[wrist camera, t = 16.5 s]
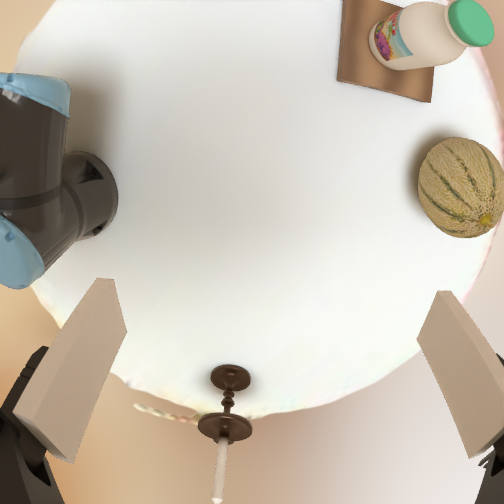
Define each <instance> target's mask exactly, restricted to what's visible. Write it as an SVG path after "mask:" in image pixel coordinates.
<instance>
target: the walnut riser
mask: <svg viewBox="0 0 504 504" xmlns="http://www.w3.org/2000/svg"><path fill="white" fill-rule="evenodd" d="M401 9H403V8H402V7H399V6H396V5H393V4H390V3H387V2H383V1H380V0H343V7H342V24H341V38H340V51H339V62H338V73H337V81H340V82H346V83H350V84H355V85H360V86H364V87H369V88H373V89H377V90H381V91H385V92H389V93H393V94H396V95H400V96H403V97H407V98H410V99H414V100H417V101H420V102H427V103H431V96H432V86H433V75H434V66H431V67H424V68H416V69H409V70H393V69H390V68H388V67H386V66H384V65H383V64H381V63H380V62H379V61H378V60H377V59H376V58H375V56H374V55H373V53H372V51H371V49H370V45H369V34H370V31H371V29H372V28H373V26H374V25H376V24H377V23H378V22H380V21H381V20H383V19H385V18H386V17H388V16H390V15H392V14H393V13H395V12H397V11H399V10H401Z"/></svg>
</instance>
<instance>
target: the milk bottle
mask: <svg viewBox="0 0 504 504" xmlns="http://www.w3.org/2000/svg"><path fill="white" fill-rule="evenodd" d="M493 37H494V27H493V24H492V21H491V19H490V17H489V15H488V13H487V12H486V11H485V10H484V8H483V7H482V6H481V5H479V4H478V3H477V2H475V1H473V0H457V1H455V2H451V3H449V4H448V5H447V6H445V5H441V4H438V3H434V2H418V3H414V4H412V5H409V6H407V7H405V8H403V9H401V10H399V11H397V12H395V13H393V14H392V15H390V16H388V17H386V18H385V19H383V20H381V21H380V22H378V23H377V24H376V25H374V26H373V28H372V29H371V31H370V34H369V45H370V49H371V51H372V53H373V55H374V56H375V58H376V59H377V60H378V61H379V62H380V63H381V64H383V65H384V66H386V67H388V68H390V69H393V70H409V69H416V68H424V67H431V66H438V65H444V64H447V63H450V62H452V61H454V60H456V59H457V58H458V57H460V56H461V54H462V53H463V52H464V50H465V49H466V47H481V46H486V45H488V44H490V43H491V42H492V40H493Z"/></svg>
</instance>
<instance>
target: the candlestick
mask: <svg viewBox="0 0 504 504" xmlns="http://www.w3.org/2000/svg"><path fill="white" fill-rule="evenodd" d="M211 381H212V383H213V384H214V385H215V386H216V387H218V388H220V389H222V390H225V392H224V393H223V395H224V397H225V398H224V399H223V400H222V401H221V404H222V406H224V413H209V414H206V415H204V416H202V417H201V418H200V419H199V422H198V429H199V430H200V432H201V433H203V434H204V435H205V436H207V437H210V438H212V439H213V440H214V442H216V443H218V451H217V459H216V468H215V476H214V485H213V493H212V501H214V504H219V503H220V502H222V501H223V491H224V480H225V471H226V461H227V450H228V445H230V444H232V443H234V441H240V440H243V439H246V438H248V437H249V436H250V435H251V434H252V424H251V423H250V422H249V421H248V420H247V419H245V418H243V417H241V416H238V415H235V414H230V408H231V407H233V406H234V401H233V399H232V398H233V397H234V392H232V391H240V390H243V389H245V388H247V387H248V386H249V385H250V381H251V377H250V374H249V372H248V371H247V370H245V369H244V368H242V367H240V366H236V365H221V366H218V367H216V368H215V369H214V370H213V371H212V373H211Z"/></svg>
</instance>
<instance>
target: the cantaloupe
mask: <svg viewBox="0 0 504 504" xmlns="http://www.w3.org/2000/svg"><path fill="white" fill-rule="evenodd" d="M418 193H419V199H420V202H421V205H422V207H423V210H424V211H425V213H426V214H427V216H428V217H429V218H430V219H431V221H432V222H433V223H434V225H435V226H436V227H437V228H439V229H440V230H441V231H443V232H445V233H446V234H448V235H451V236H453V237H458V238H473V237H478V236H480V235H482V234H484V233H487V232H488V231H489V230H490V229H491V228H493V227H494V226H495V225H496V224H497V223H498V221H499V220H500V218H501V216H502V213H503V211H504V172H503V169H502V167H501V165H500V163H499V161H498V160H497V159H496V157H495V156H494V155H493V154H492V152H491V151H490V150H488V149H487V148H486V147H484V146H483V145H481V144H479V143H478V142H476V141H473V140H469V139H467V138H461V137H453V138H448V139H445V140H444V141H442V142H441V143H439V144H437V145H436V146H434V147H433V148H432V149H431V150H430V151H429V152H428V154H427V156H426V158H425V159H424V161H423V163H422V164H421V167H420V172H419V179H418Z"/></svg>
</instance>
